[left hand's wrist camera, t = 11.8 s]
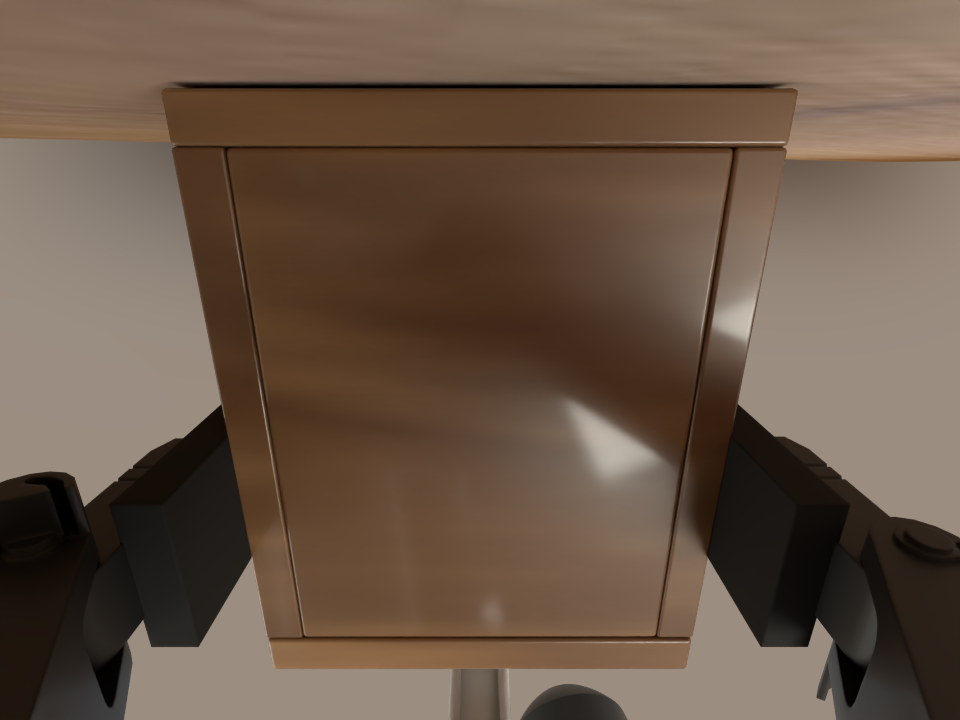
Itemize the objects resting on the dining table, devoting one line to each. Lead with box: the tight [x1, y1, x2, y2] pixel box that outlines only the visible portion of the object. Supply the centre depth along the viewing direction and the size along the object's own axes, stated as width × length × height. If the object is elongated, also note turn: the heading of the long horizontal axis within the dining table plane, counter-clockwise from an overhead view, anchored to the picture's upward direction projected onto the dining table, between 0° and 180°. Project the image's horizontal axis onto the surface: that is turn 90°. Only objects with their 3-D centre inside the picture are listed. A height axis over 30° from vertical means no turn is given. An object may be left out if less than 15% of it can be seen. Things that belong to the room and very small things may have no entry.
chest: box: [162, 88, 798, 638], centre depth 15 cm, size 13×9×10 cm
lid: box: [269, 633, 691, 669], centre depth 19 cm, size 14×9×9 cm, turn 0°
